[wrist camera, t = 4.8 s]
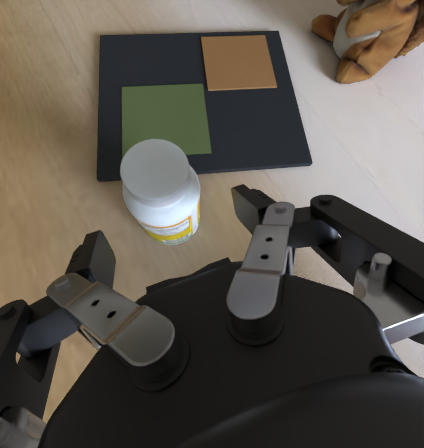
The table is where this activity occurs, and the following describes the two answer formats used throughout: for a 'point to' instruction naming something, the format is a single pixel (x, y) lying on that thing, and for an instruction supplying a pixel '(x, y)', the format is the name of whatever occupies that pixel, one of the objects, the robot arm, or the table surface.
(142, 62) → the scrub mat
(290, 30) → the table surface
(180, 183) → the supplement bottle
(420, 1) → the stuffed squirrel
